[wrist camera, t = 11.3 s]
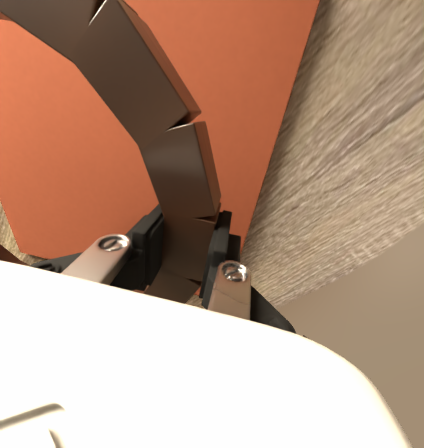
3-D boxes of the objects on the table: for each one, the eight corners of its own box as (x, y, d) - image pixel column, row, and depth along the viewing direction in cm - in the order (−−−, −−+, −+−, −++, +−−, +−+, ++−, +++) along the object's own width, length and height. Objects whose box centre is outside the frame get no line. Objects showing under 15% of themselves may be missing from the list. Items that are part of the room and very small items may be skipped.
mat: (322, -13, 11) (325, -19, 11) (226, 299, 24) (225, 302, 23) (-102, -85, 12) (-115, -93, 12) (24, 249, 25) (20, 252, 25)
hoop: (269, -22, 7) (280, -84, 5) (194, 331, 17) (186, 361, 15) (-258, -111, 8) (-448, -196, 6) (-29, 275, 18) (-65, 297, 16)
